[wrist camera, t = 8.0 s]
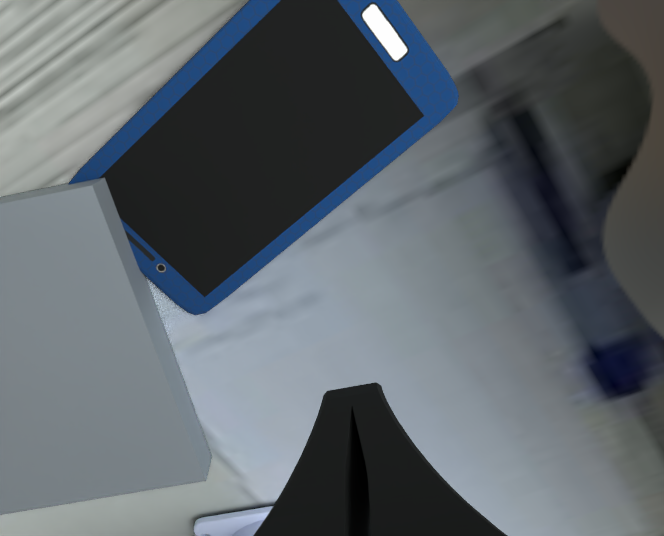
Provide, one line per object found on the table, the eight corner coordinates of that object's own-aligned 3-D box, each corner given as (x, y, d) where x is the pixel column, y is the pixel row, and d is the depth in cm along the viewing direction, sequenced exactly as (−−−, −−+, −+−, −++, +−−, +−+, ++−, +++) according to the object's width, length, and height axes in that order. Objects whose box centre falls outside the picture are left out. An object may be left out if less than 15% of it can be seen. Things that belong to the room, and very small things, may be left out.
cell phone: (464, 97, 19) (469, 99, 19) (198, 315, 23) (195, 324, 22) (335, -83, 17) (336, -88, 16) (62, 190, 20) (53, 195, 20)
